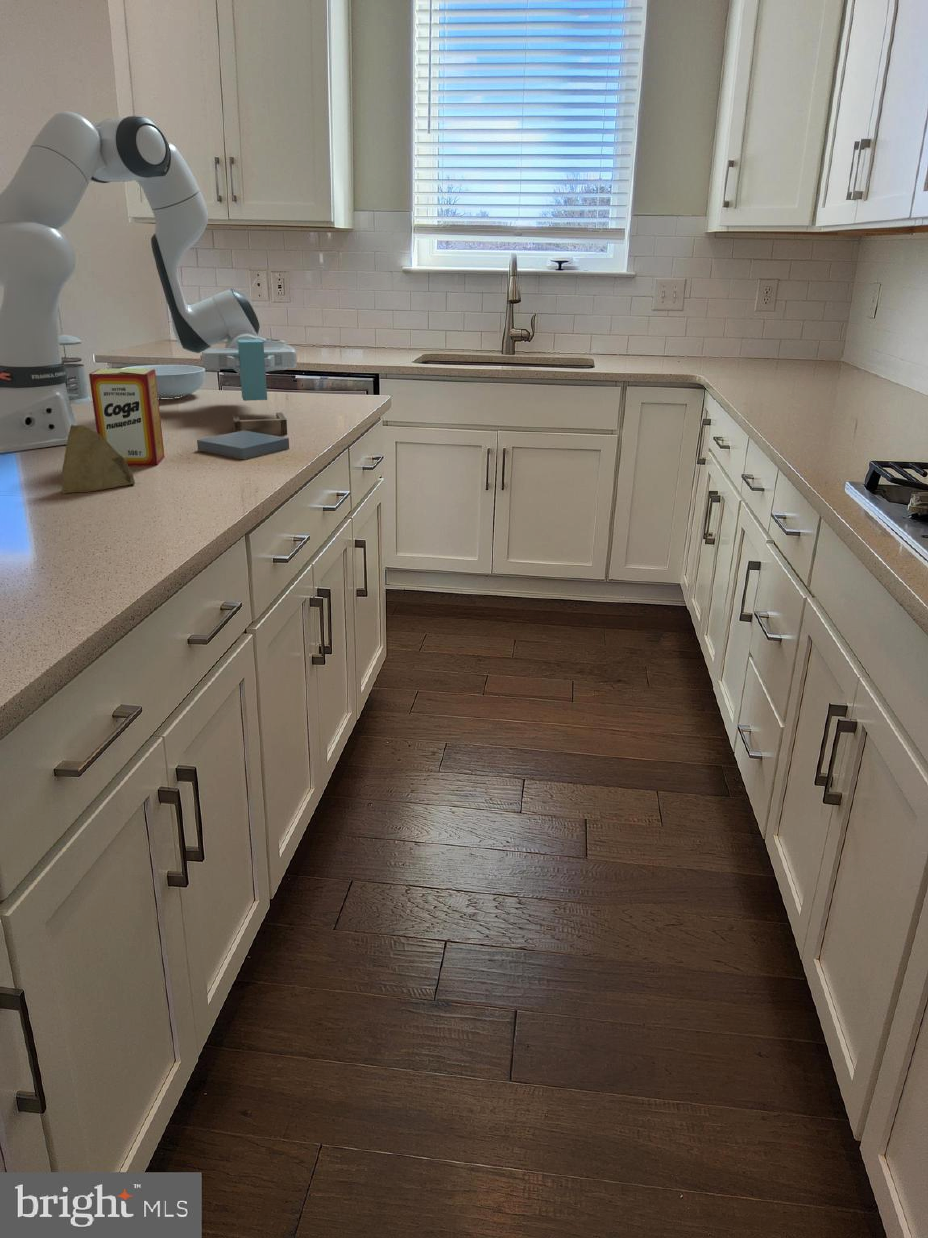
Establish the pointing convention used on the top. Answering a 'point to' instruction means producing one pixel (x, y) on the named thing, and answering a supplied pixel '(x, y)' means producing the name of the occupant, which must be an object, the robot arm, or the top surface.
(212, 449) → the slate tile
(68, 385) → the french press
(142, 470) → the top surface
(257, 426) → the walnut cubby
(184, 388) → the serving bowl
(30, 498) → the top surface
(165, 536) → the top surface
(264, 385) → the teal block
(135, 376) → the baking soda box
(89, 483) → the rock
